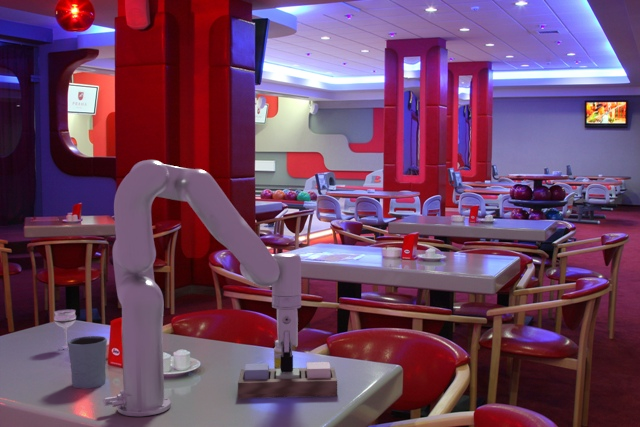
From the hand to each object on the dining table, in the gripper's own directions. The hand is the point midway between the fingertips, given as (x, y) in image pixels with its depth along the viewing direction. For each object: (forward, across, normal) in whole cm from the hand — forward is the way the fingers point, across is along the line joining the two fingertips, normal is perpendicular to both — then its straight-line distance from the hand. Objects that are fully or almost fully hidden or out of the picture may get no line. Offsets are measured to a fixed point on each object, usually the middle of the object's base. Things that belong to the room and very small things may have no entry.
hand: (286, 370), depth 187 cm
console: (+5, 0, 0) cm, 5 cm away
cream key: (+2, 0, -8) cm, 9 cm away
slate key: (+2, 0, +8) cm, 8 cm away
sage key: (+4, 0, 0) cm, 4 cm away
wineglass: (+6, +49, +72) cm, 87 cm away
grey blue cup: (+6, +9, +54) cm, 55 cm away
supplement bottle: (+5, +19, +1) cm, 20 cm away
